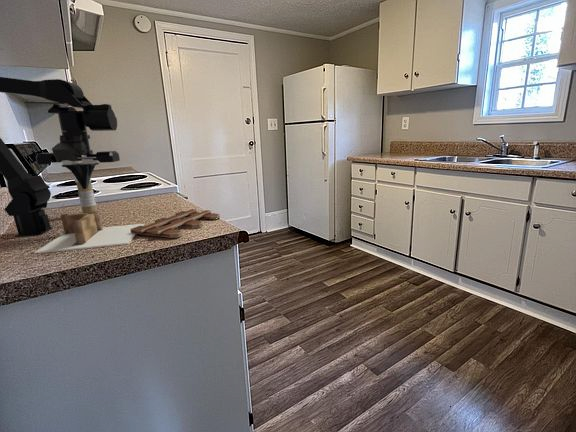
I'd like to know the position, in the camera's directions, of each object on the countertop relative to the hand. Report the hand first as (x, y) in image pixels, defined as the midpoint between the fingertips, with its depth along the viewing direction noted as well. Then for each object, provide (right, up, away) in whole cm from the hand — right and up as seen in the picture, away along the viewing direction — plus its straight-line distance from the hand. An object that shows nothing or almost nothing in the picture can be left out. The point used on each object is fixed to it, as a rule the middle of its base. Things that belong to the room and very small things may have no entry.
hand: (85, 188), depth 87 cm
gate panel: (+5, -13, -7) cm, 16 cm away
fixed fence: (0, -12, -1) cm, 12 cm away
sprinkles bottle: (-11, -7, +20) cm, 24 cm away
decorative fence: (+26, -10, +2) cm, 28 cm away
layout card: (+7, -13, -6) cm, 16 cm away
